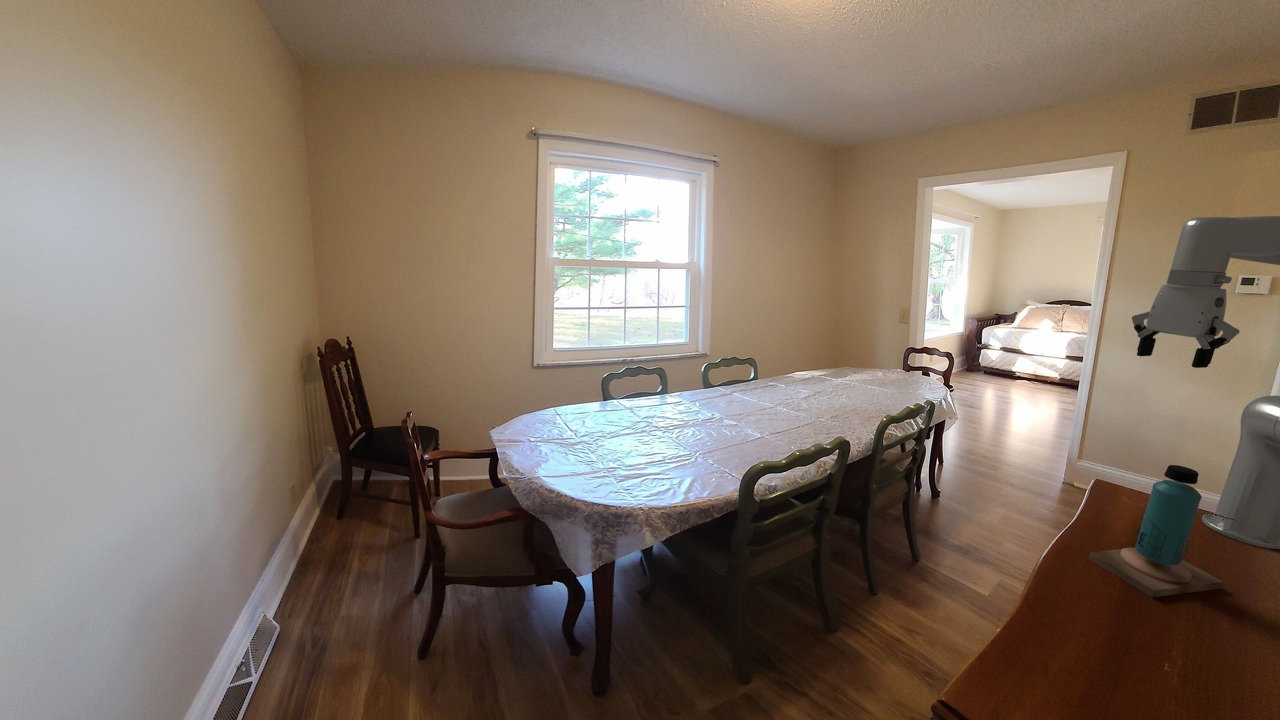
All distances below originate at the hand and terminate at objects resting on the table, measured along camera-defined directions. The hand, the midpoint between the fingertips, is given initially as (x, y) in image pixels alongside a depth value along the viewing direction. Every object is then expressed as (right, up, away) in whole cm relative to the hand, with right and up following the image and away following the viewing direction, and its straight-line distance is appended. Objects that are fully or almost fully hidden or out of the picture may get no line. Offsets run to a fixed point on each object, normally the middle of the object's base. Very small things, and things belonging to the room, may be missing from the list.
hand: (1170, 361), depth 103 cm
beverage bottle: (-12, -39, -8) cm, 42 cm away
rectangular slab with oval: (-13, -41, -8) cm, 44 cm away
